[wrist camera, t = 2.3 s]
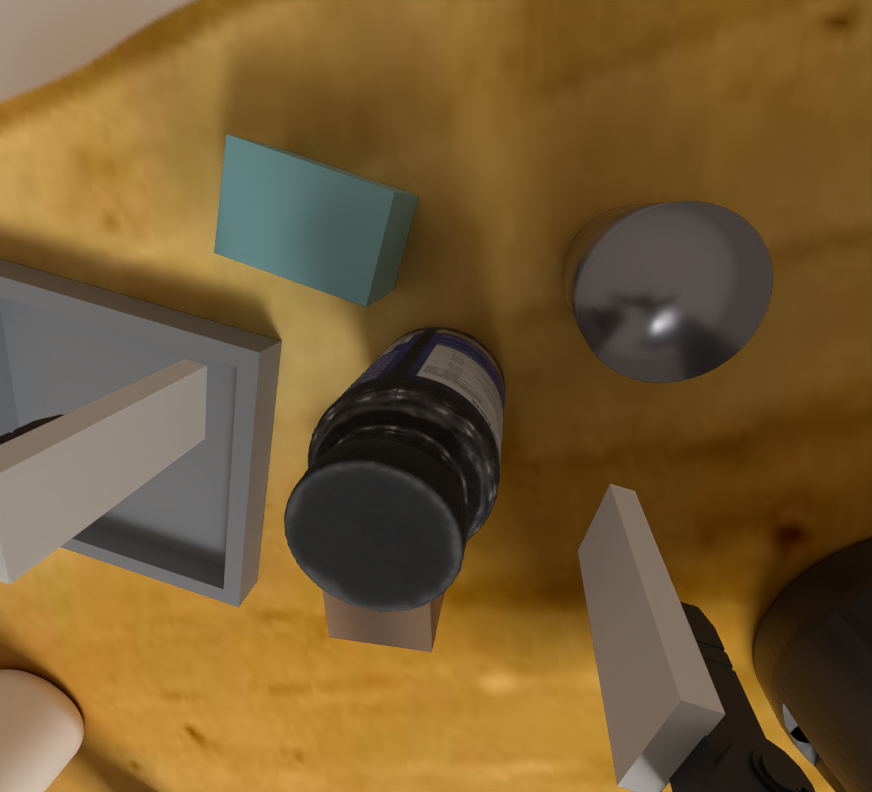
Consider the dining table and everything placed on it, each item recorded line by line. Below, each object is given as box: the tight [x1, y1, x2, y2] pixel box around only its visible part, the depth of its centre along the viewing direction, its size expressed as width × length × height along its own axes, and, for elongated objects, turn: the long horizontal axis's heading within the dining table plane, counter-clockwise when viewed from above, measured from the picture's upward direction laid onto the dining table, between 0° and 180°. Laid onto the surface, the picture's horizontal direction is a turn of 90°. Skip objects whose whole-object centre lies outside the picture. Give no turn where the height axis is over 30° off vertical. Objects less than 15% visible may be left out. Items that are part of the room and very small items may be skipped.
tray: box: [0, 259, 282, 607], centre depth 25 cm, size 16×16×2 cm
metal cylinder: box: [562, 201, 773, 383], centre depth 15 cm, size 5×5×6 cm
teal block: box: [214, 134, 418, 307], centre depth 18 cm, size 6×4×4 cm, turn 73°
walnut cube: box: [322, 589, 444, 652], centre depth 23 cm, size 5×5×5 cm
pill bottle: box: [284, 328, 505, 612], centre depth 16 cm, size 6×6×11 cm
